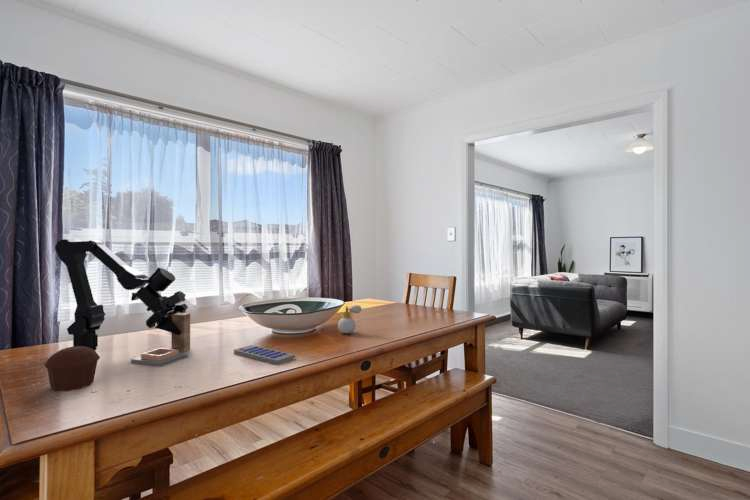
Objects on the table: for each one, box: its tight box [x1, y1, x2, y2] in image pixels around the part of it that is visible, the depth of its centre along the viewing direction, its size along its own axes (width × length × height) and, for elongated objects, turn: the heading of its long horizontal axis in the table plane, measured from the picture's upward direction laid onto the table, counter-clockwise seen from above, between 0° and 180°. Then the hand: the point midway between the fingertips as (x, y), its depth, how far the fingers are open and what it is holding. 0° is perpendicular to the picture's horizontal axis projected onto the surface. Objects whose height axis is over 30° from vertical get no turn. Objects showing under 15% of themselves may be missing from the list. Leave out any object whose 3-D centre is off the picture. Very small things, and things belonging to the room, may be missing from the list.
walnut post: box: [171, 312, 191, 353], centre depth 137 cm, size 4×4×13 cm
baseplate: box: [130, 347, 189, 367], centre depth 127 cm, size 12×11×2 cm
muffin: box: [44, 346, 101, 392], centre depth 103 cm, size 12×11×10 cm
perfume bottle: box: [337, 304, 362, 335], centre depth 167 cm, size 8×10×12 cm
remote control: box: [233, 345, 296, 366], centre depth 132 cm, size 8×23×2 cm, turn 57°
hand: (184, 331), depth 137 cm, fingers open, 6 cm apart
